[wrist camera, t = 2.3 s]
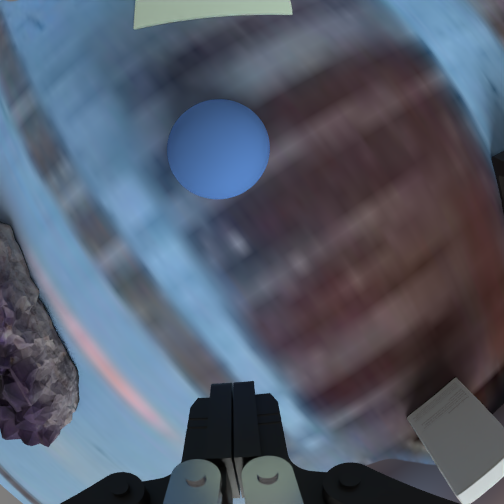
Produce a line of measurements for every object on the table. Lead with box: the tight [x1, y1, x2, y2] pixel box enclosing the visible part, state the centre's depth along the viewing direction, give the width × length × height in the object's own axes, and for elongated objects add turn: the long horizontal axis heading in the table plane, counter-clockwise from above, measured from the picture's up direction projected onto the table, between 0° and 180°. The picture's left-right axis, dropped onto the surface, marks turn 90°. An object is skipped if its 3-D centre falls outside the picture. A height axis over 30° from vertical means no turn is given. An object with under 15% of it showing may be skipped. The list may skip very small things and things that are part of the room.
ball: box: [167, 99, 270, 199], centre depth 17 cm, size 6×6×6 cm
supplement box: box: [407, 377, 504, 504], centre depth 22 cm, size 7×7×13 cm
